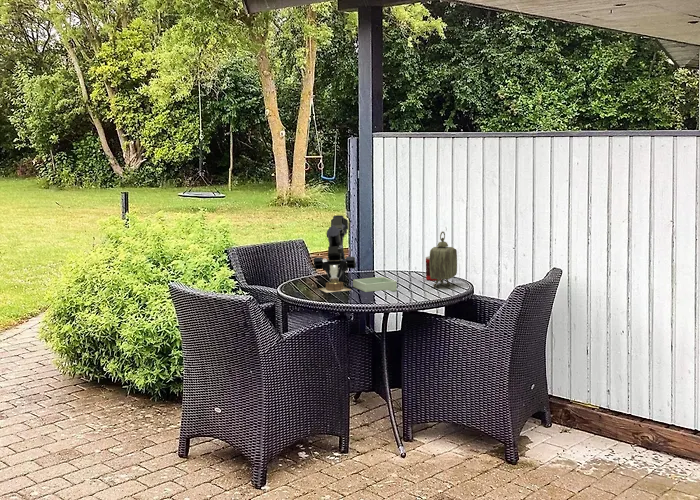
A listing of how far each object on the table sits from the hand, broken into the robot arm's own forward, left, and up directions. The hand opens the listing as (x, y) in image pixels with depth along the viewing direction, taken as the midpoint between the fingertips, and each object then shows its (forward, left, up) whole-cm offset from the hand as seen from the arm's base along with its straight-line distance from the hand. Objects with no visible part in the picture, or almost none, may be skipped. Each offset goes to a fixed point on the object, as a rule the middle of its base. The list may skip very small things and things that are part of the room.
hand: (334, 277), depth 348 cm
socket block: (-1, -1, -7) cm, 7 cm away
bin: (-18, +5, -7) cm, 19 cm away
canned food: (-54, -7, -7) cm, 54 cm away
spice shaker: (-1, -1, -5) cm, 6 cm away
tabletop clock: (-50, +11, -7) cm, 51 cm away
